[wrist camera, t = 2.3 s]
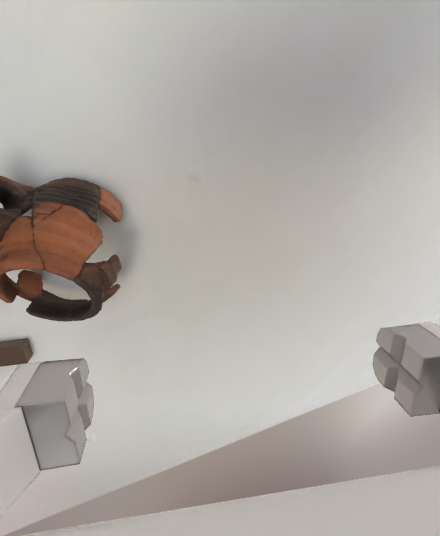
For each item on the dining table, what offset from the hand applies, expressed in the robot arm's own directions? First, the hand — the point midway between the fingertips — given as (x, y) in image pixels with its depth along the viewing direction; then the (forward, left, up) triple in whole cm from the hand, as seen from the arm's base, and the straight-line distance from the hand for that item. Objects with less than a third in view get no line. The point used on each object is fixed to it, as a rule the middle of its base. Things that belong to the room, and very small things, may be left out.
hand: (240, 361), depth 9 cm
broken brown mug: (+11, 0, -20) cm, 23 cm away
